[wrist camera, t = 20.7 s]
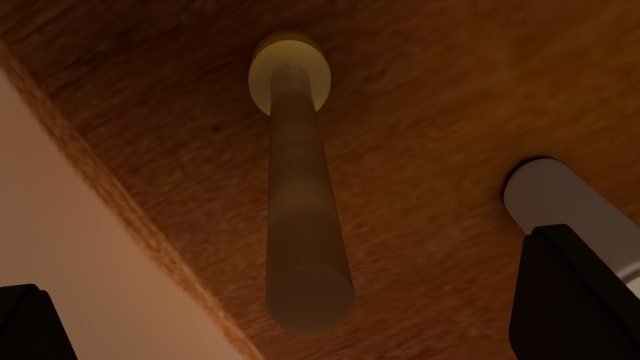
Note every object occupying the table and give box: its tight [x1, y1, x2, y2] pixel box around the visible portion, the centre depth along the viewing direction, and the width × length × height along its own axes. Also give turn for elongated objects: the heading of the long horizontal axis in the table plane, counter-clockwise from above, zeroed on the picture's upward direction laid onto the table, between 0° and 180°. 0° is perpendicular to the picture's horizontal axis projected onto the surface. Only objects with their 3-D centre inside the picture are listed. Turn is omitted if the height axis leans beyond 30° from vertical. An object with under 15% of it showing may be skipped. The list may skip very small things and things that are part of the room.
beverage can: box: [503, 158, 640, 299], centre depth 28 cm, size 5×5×12 cm
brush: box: [248, 29, 355, 334], centre depth 20 cm, size 4×4×20 cm
